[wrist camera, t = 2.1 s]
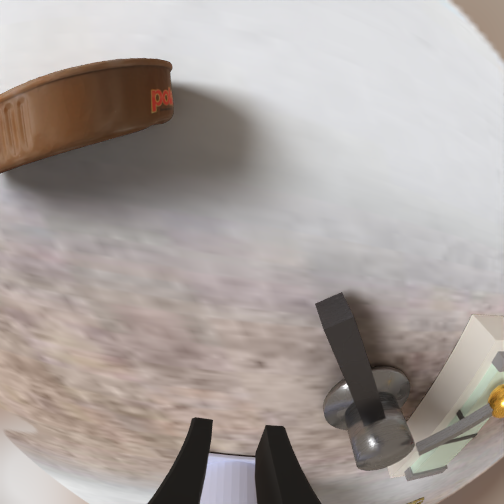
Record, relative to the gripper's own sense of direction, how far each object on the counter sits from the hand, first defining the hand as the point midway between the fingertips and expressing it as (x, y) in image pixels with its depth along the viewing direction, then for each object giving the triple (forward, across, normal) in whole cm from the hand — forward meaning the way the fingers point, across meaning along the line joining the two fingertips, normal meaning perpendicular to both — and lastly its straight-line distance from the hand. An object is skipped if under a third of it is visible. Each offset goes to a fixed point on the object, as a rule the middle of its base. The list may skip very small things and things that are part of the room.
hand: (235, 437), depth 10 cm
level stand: (+9, -21, +8) cm, 24 cm away
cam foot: (+9, -12, +2) cm, 15 cm away
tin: (+10, +12, -9) cm, 18 cm away
